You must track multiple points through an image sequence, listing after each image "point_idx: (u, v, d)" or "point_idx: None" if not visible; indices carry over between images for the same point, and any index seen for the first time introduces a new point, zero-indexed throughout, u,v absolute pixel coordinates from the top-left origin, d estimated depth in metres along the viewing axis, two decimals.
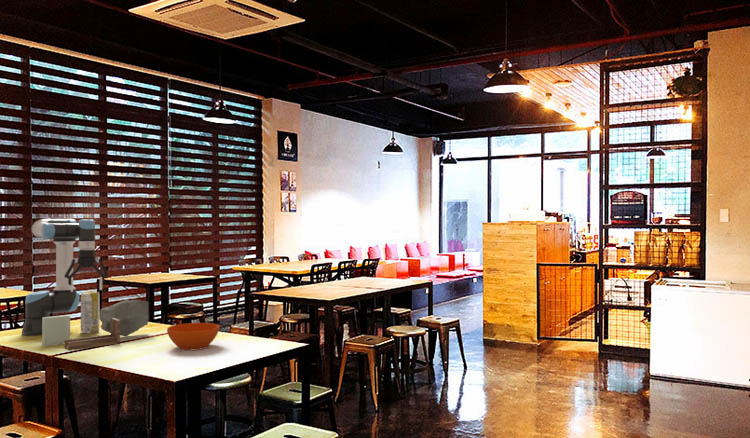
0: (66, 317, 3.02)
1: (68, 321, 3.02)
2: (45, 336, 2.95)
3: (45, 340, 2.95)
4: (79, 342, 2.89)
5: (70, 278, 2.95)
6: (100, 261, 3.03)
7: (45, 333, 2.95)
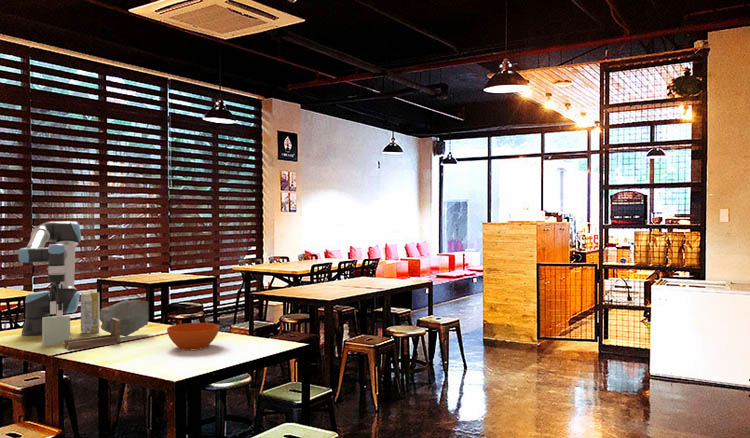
0: (66, 317, 3.02)
1: (68, 321, 3.02)
2: (45, 336, 2.95)
3: (45, 340, 2.95)
4: (79, 342, 2.89)
5: (50, 301, 3.05)
6: (57, 287, 2.95)
7: (45, 333, 2.95)
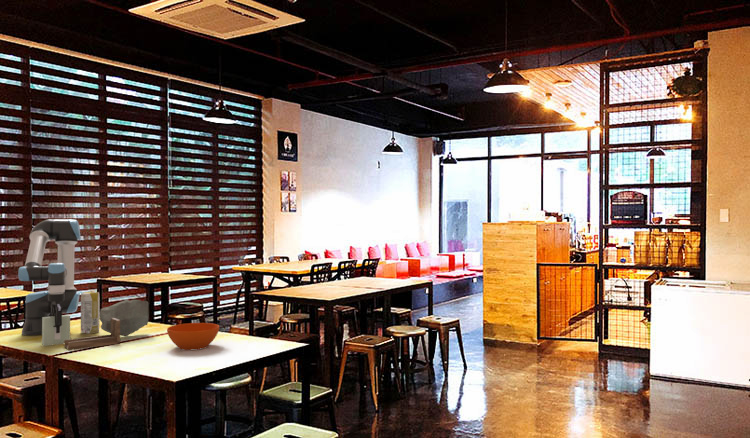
0: (66, 317, 3.02)
1: (68, 321, 3.02)
2: (45, 336, 2.95)
3: (45, 340, 2.95)
4: (79, 342, 2.89)
5: None
6: (56, 309, 2.95)
7: (45, 333, 2.95)
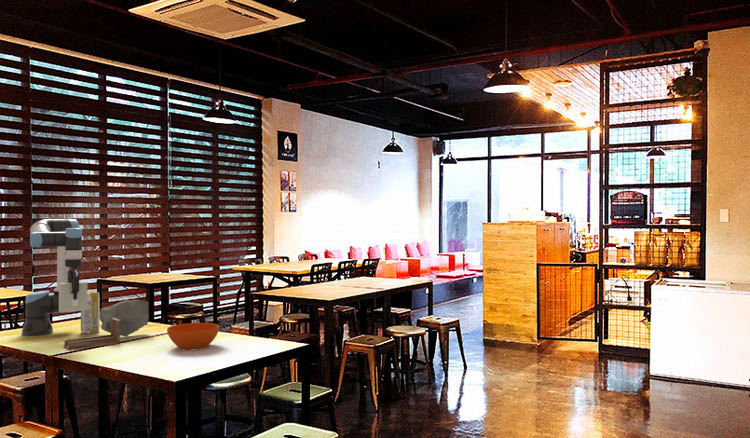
0: (83, 283, 2.92)
1: (85, 288, 2.93)
2: (62, 302, 2.86)
3: (62, 306, 2.86)
4: (79, 342, 2.89)
5: None
6: (73, 275, 2.86)
7: (62, 299, 2.86)
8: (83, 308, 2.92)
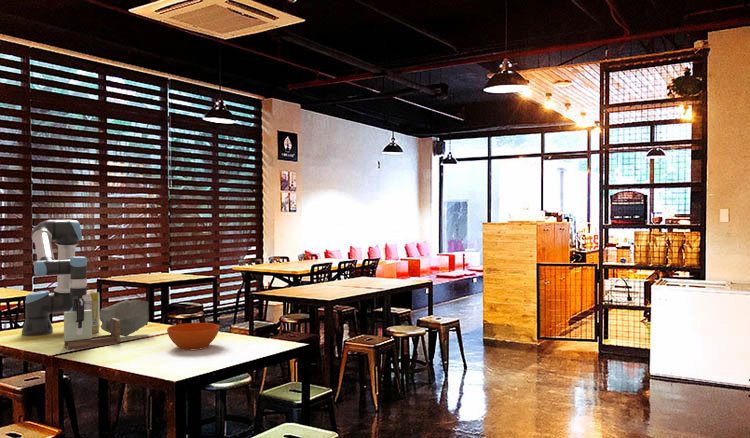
0: (88, 312, 2.94)
1: (90, 316, 2.94)
2: (67, 331, 2.87)
3: (67, 335, 2.87)
4: (79, 342, 2.89)
5: None
6: (78, 304, 2.87)
7: (67, 328, 2.87)
8: (88, 336, 2.94)
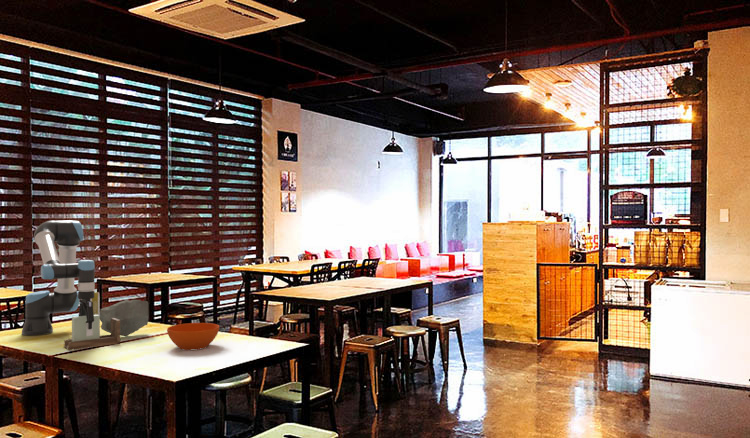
0: (96, 317, 2.96)
1: (98, 321, 2.97)
2: (75, 336, 2.90)
3: (75, 340, 2.90)
4: (79, 342, 2.89)
5: None
6: (87, 305, 2.89)
7: (75, 333, 2.90)
8: None
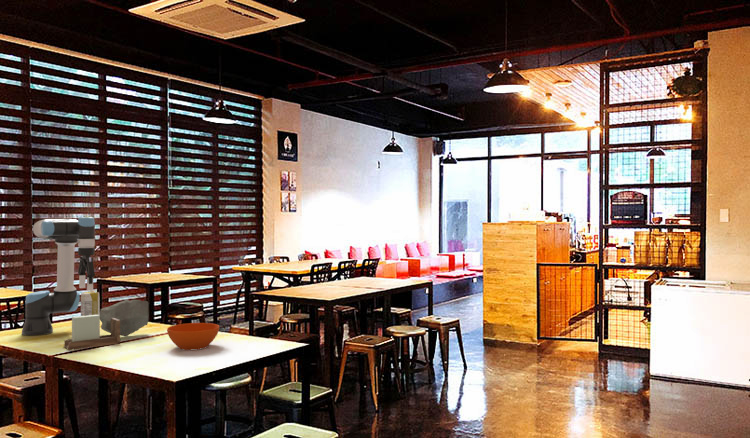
0: (96, 317, 2.96)
1: (98, 321, 2.97)
2: (75, 336, 2.90)
3: (75, 340, 2.90)
4: (79, 342, 2.89)
5: (79, 274, 3.00)
6: (87, 260, 2.89)
7: (75, 333, 2.90)
8: None
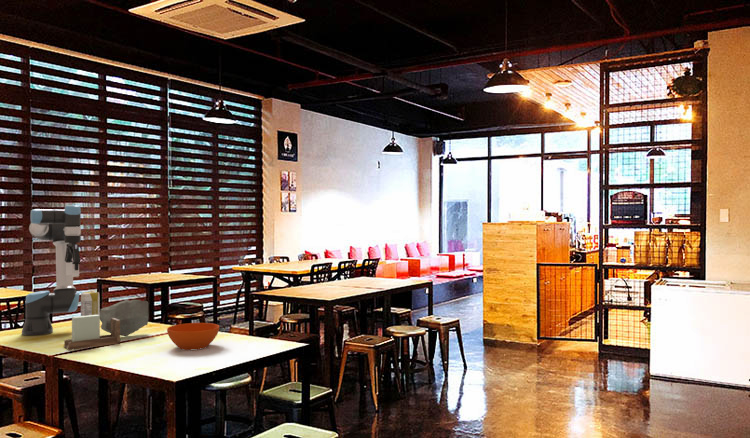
0: (96, 317, 2.96)
1: (98, 321, 2.97)
2: (75, 336, 2.90)
3: (75, 340, 2.90)
4: (79, 342, 2.89)
5: (66, 262, 3.08)
6: (73, 247, 2.98)
7: (75, 333, 2.90)
8: None
